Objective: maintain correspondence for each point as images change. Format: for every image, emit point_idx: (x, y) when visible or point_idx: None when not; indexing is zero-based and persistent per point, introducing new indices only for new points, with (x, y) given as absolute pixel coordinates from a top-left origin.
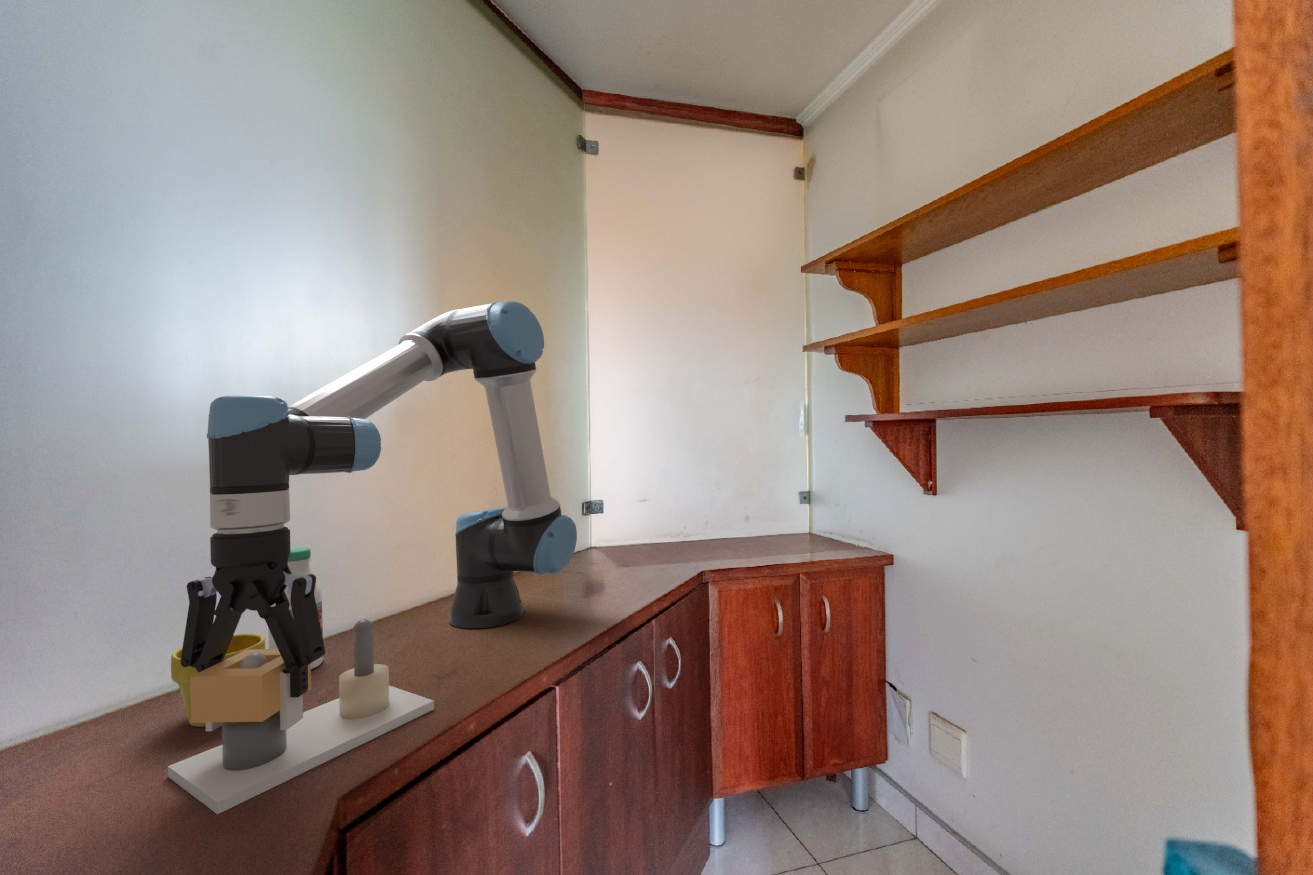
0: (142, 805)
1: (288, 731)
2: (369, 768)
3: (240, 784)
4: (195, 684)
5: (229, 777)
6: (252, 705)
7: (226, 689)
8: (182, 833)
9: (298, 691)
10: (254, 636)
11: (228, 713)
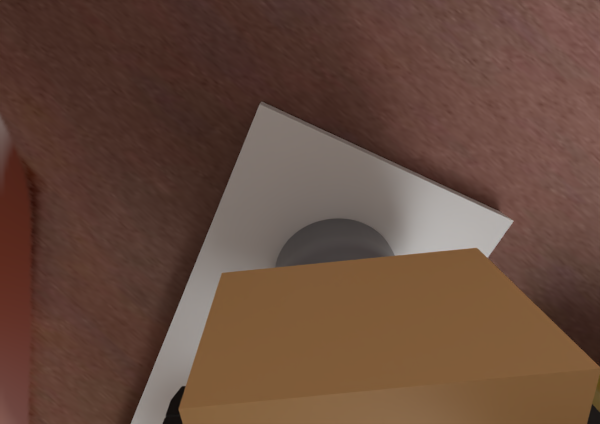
0: (468, 116)
1: None
2: (67, 275)
3: (267, 171)
4: (542, 340)
5: (319, 193)
6: (250, 301)
7: (372, 337)
8: (281, 32)
9: (176, 403)
10: None
11: (346, 276)
